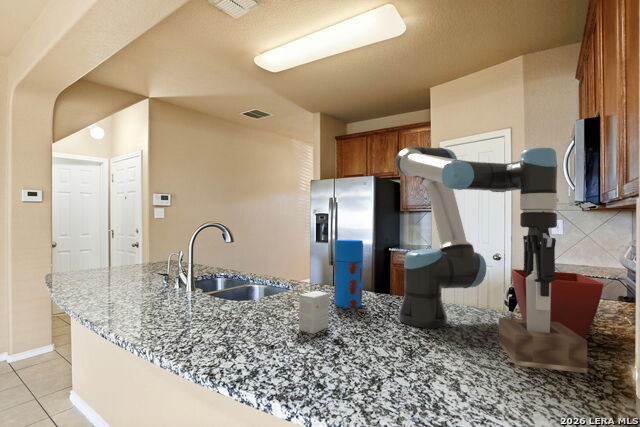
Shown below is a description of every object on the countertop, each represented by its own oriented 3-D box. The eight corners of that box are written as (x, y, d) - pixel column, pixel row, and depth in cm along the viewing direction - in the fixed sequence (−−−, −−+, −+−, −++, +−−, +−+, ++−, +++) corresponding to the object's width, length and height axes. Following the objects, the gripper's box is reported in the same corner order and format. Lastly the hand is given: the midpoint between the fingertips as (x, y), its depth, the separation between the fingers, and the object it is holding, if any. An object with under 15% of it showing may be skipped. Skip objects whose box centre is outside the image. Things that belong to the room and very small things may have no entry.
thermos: (332, 301, 134) (333, 239, 134) (358, 300, 135) (359, 239, 135) (336, 308, 123) (337, 241, 123) (365, 307, 124) (365, 241, 125)
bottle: (555, 351, 78) (555, 245, 78) (530, 349, 79) (531, 244, 79) (545, 343, 83) (545, 243, 83) (522, 342, 84) (522, 243, 84)
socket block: (515, 365, 76) (515, 334, 76) (498, 343, 89) (498, 317, 89) (587, 373, 72) (587, 340, 72) (558, 349, 86) (558, 322, 86)
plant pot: (605, 346, 89) (605, 282, 89) (523, 336, 95) (523, 277, 96) (578, 325, 106) (577, 272, 107) (510, 318, 113) (510, 269, 113)
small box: (314, 323, 104) (314, 290, 104) (329, 327, 101) (329, 292, 101) (298, 330, 97) (298, 294, 98) (313, 334, 94) (314, 297, 94)
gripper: (574, 210, 72) (574, 318, 71) (540, 212, 89) (540, 299, 89) (534, 210, 74) (534, 315, 73) (510, 212, 91) (509, 297, 91)
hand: (538, 306), depth 81 cm, fingers closed on bottle, 5 cm apart
